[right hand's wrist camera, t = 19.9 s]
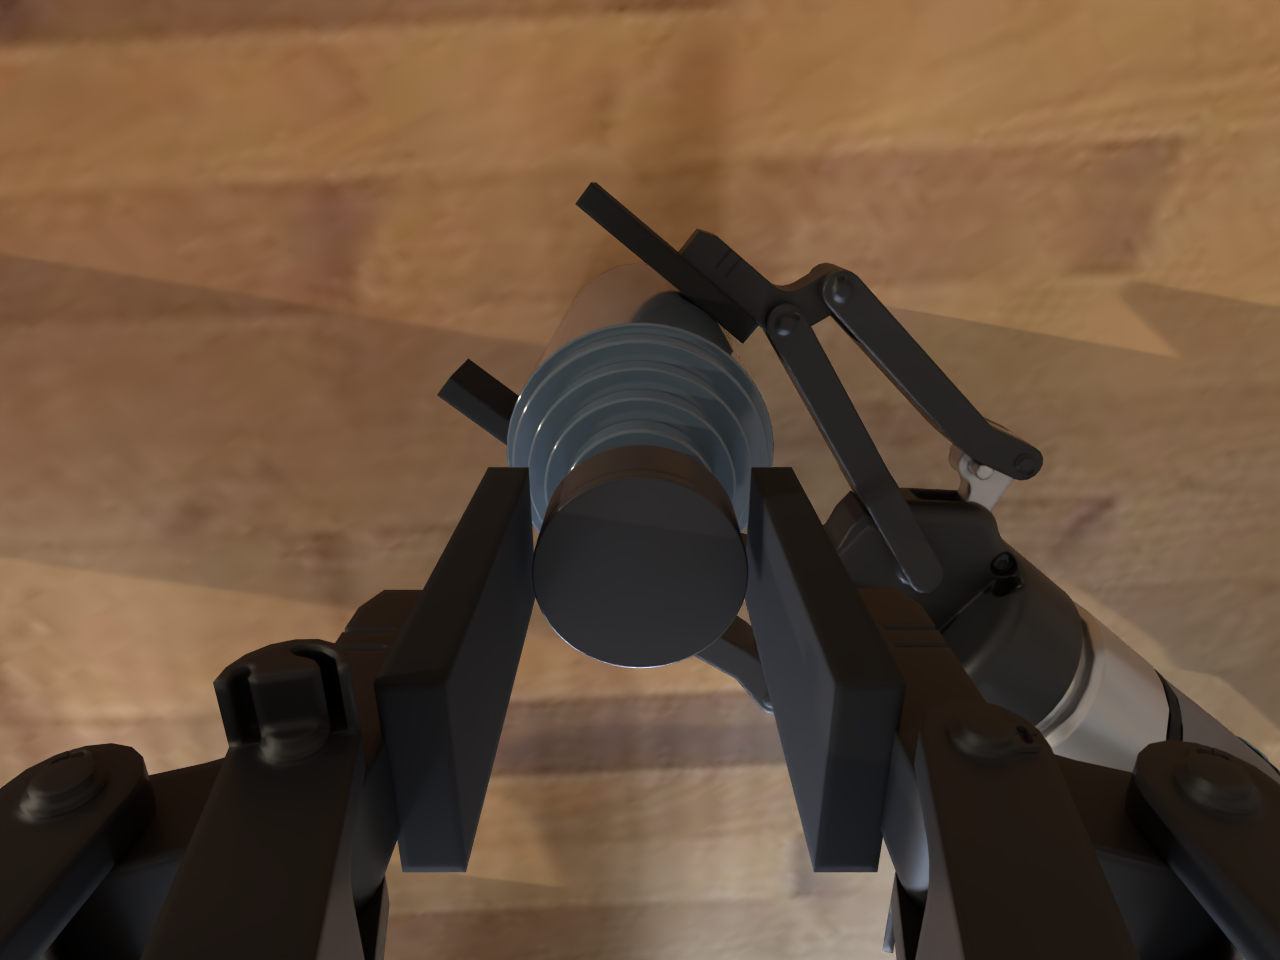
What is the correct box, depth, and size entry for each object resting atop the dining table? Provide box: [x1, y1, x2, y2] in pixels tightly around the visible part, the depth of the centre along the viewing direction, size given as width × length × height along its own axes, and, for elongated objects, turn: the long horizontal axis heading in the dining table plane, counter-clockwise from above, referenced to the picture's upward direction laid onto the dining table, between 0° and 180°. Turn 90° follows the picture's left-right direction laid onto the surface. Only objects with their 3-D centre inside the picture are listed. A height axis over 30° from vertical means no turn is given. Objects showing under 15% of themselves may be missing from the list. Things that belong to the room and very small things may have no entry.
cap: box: [532, 445, 748, 668], centre depth 14 cm, size 4×4×2 cm
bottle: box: [507, 264, 774, 533], centre depth 23 cm, size 7×7×19 cm
